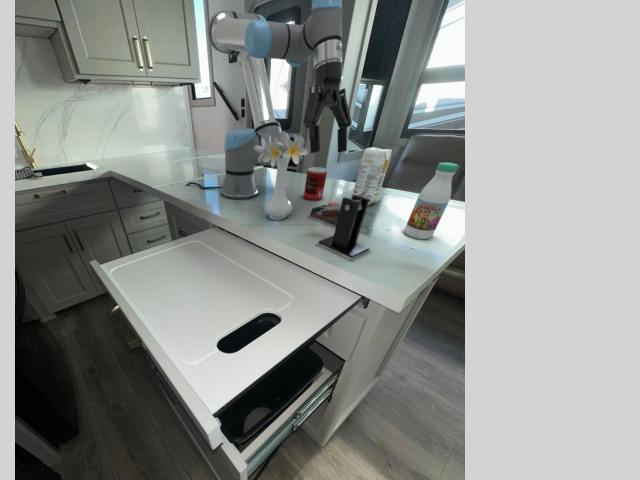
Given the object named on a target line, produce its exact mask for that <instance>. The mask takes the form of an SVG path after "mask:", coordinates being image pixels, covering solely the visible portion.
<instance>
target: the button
mask: <svg viewBox="0 0 640 480" xmlns="http://www.w3.org/2000/svg"><path fill="white" fill-rule="evenodd" d="M327 205H328V206H334V205H340V204H339V203H338V202H333V201H332V202H328V203H327ZM336 210H338V209H336Z"/></svg>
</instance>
